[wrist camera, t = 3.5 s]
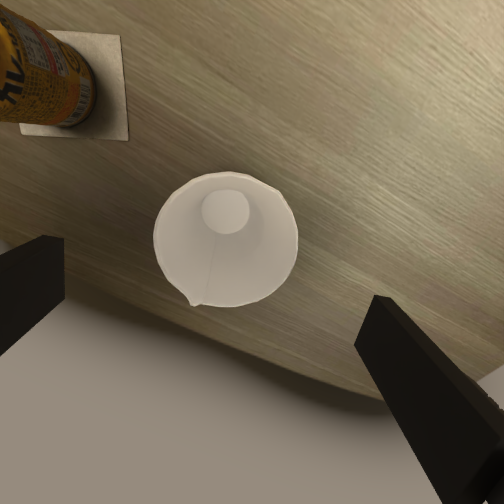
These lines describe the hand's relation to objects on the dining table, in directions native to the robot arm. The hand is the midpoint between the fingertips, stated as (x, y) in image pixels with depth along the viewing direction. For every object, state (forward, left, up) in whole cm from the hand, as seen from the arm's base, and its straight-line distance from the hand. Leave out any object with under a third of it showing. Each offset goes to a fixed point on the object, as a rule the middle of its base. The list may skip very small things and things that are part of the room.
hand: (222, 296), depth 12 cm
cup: (0, 0, -16) cm, 16 cm away
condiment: (-14, +7, -16) cm, 22 cm away
